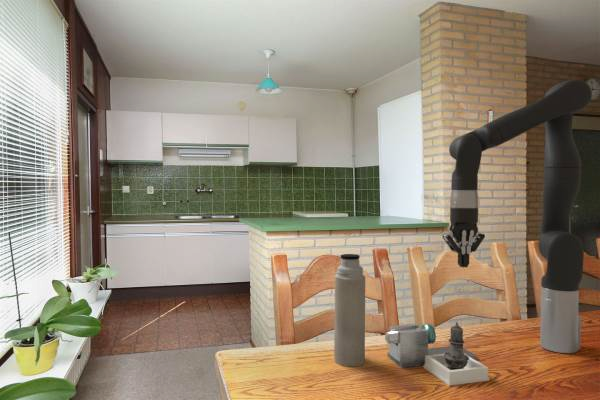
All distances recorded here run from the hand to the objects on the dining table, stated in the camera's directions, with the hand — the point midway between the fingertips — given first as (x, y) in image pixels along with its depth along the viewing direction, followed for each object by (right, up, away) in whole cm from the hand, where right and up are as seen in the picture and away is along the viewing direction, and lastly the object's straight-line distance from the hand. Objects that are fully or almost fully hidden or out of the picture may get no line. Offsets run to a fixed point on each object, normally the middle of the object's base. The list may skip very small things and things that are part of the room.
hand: (463, 266), depth 127 cm
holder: (-8, -24, -18) cm, 31 cm away
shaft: (-18, -19, -10) cm, 28 cm away
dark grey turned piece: (-8, -23, -18) cm, 30 cm away
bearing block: (-11, -23, -8) cm, 27 cm away
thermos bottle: (-33, -23, -10) cm, 42 cm away
